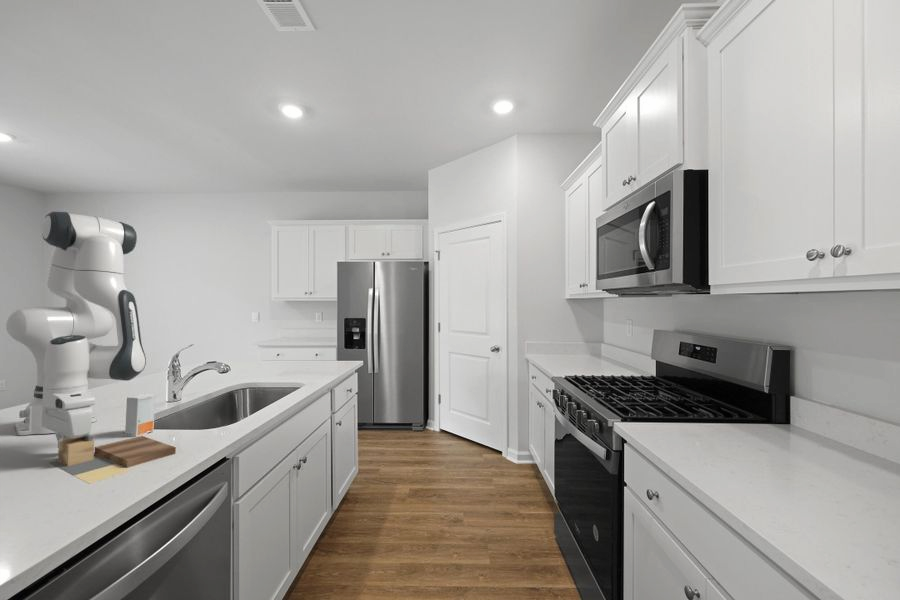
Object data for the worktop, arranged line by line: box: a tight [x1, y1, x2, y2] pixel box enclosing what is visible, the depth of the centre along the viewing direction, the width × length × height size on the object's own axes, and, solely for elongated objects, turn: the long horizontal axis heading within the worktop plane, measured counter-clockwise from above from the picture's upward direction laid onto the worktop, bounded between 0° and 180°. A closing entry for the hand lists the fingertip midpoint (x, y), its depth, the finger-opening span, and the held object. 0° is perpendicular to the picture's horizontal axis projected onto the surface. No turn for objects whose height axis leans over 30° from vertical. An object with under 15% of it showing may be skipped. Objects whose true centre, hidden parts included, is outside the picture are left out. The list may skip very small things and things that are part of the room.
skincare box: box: [124, 393, 156, 438], centre depth 124 cm, size 6×4×12 cm
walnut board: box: [94, 435, 177, 469], centre depth 108 cm, size 18×11×2 cm, turn 62°
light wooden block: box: [57, 434, 95, 466], centre depth 102 cm, size 6×5×6 cm
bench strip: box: [48, 454, 131, 484], centre depth 99 cm, size 23×8×1 cm, turn 62°
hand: (64, 448), depth 106 cm, fingers closed
